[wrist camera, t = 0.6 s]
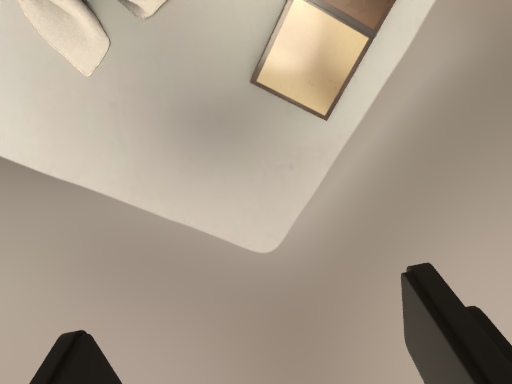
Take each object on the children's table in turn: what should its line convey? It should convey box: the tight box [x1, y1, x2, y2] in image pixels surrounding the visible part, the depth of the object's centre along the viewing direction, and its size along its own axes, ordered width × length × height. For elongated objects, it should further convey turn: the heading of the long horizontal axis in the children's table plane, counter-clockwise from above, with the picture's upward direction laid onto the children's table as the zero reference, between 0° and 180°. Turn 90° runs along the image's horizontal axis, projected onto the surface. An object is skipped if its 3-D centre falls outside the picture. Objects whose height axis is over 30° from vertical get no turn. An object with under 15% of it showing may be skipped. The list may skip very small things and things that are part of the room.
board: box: [250, 0, 396, 121], centre depth 31 cm, size 18×9×1 cm, turn 154°
